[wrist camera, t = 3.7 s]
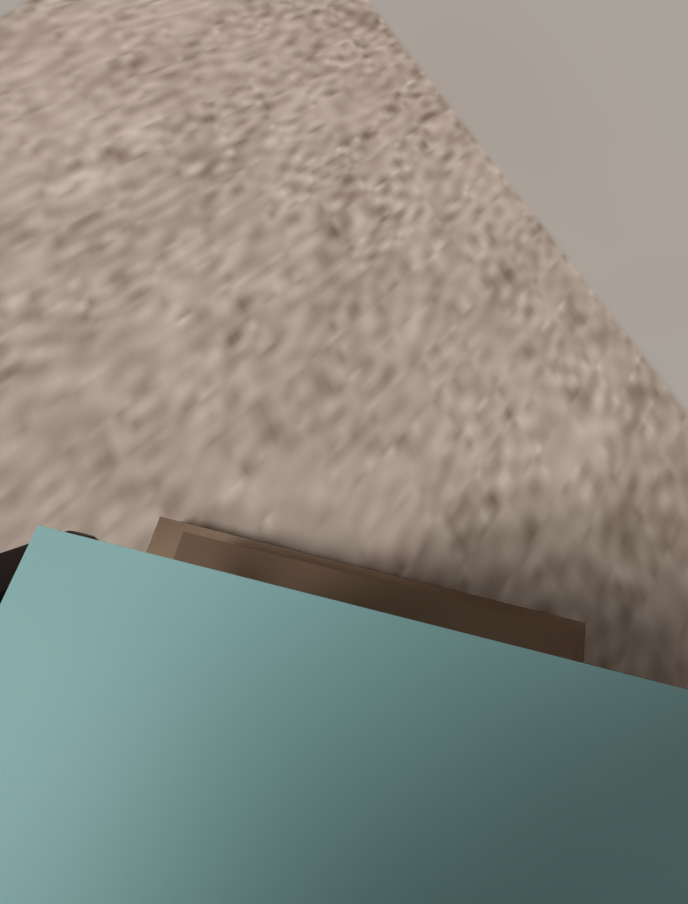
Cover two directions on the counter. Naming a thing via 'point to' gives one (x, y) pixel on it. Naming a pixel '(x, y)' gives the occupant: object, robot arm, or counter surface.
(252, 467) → the counter surface
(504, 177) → the counter surface
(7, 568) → the robot arm
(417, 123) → the counter surface
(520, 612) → the walnut rack
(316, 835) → the turquoise upright pillar
